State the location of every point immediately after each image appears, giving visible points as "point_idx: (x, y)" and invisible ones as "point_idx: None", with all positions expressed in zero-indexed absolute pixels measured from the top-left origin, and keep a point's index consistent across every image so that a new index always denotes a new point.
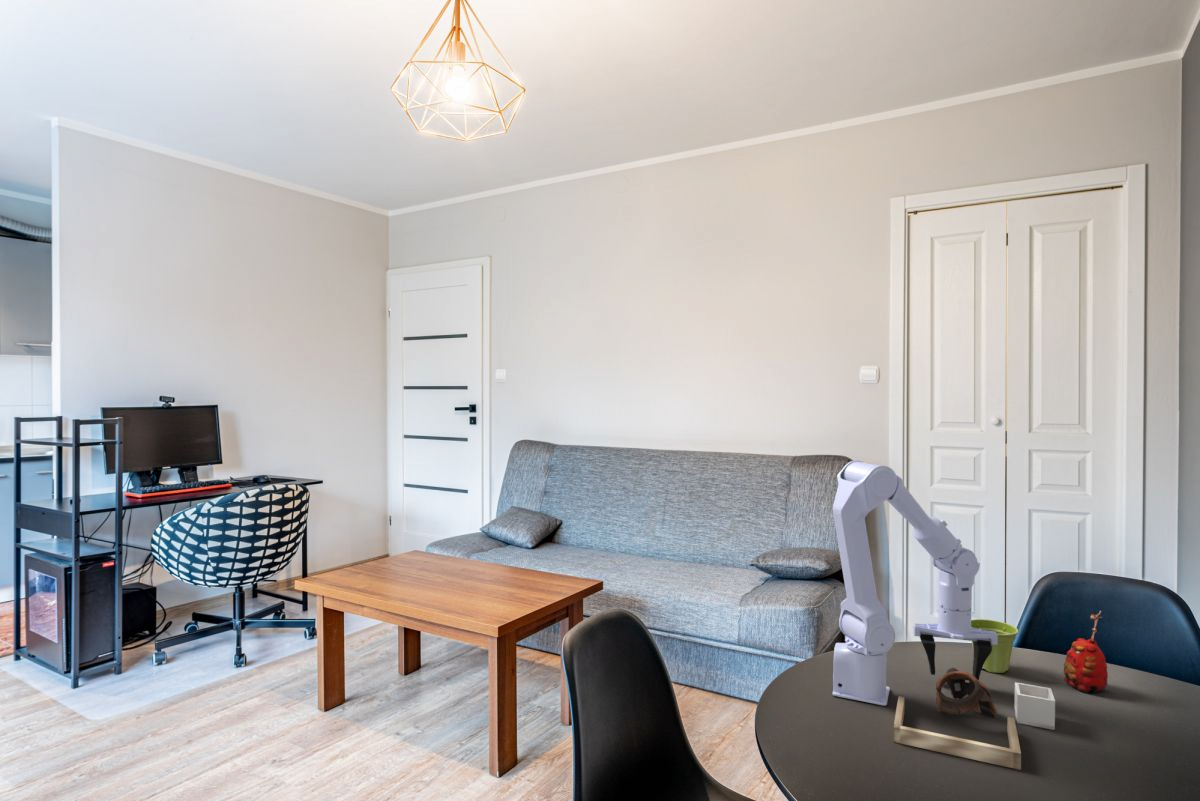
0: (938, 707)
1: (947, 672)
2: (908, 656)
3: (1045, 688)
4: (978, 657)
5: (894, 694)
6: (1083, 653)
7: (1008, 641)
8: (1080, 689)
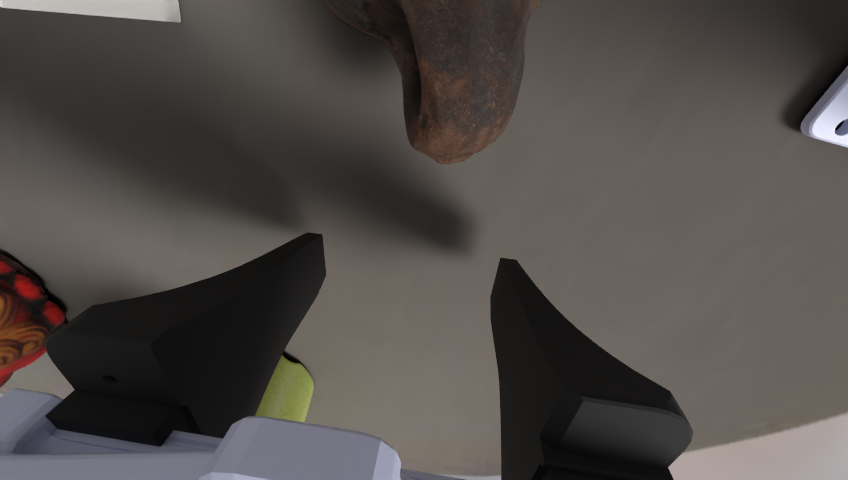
0: None
1: (519, 74)
2: None
3: None
4: (231, 293)
5: (799, 69)
6: None
7: None
8: (4, 260)
